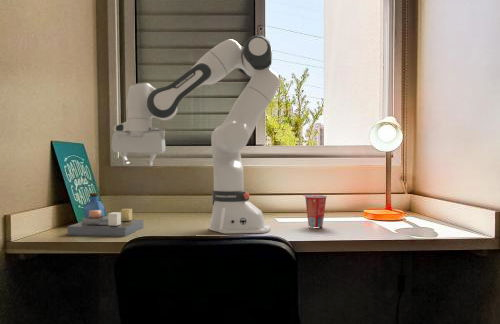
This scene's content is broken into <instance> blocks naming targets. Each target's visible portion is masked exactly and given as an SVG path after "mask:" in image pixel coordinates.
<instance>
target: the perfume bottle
mask: <svg viewBox="0 0 500 324" xmlns="http://www.w3.org/2000/svg"><path fill="white" fill-rule="evenodd" d="M88 199H89V201H87V202H86V203H85V205H84V206H83V208H82V211H83V210H84V215H85V218H86V217H89V211H92V210H101V216H106V212H105V206H104V204H103V202H102V201H101V200H99V193H98V192H91V193H90V192H89V196H88Z"/></svg>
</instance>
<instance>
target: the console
mask: <svg viewBox="0 0 500 324" xmlns="http://www.w3.org/2000/svg"><path fill="white" fill-rule="evenodd" d="M141 228H142V229H143V228H144V219H135V218H134V219H133V218H132V220H130V221H121V224H120V225H117V226H112V225H108V215H105V216H101V218H99V219H89V217H86V218H83V217H82V218H81V222H78V223H74V224H70V225H68V226H67V236H79V237H80V236H81V237H82V236H84V237H85V236H86V237H89V236H90V237H122V236H125V237H127V236H130V235H131V234H134V233H135V231H136V232H137V230H138V231H140V230H142V229H141ZM139 229H140V230H139ZM133 232H134V233H133Z"/></svg>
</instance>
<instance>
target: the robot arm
mask: <svg viewBox="0 0 500 324" xmlns="http://www.w3.org/2000/svg"><path fill="white" fill-rule="evenodd" d="M272 60H273V48H272V45H271V43H270V41H269V39H267V38H266V37H265V36H263V35H259V34H258V35H253V36H251V37H248V39H246V41H245V43H244V45H243V46H242V45H240V43H238V41H236V40H234V39H230V38H229V39H226V40H224V41H222V42H220V43H218V44H217V45H215V46H214V47H213V48H211V49H210V50H208V51H207V52H206V53H204V54H203V56H201V57H200V58H199V59H198V60H197V61H196V62H195V64H194V65H193V66H192V67H191V68H190V69H189V70H187V71H186V72H185V73H184V74H183V75H182V76H179V78H177V79H176V80H175V81H173V82H172V83H170V84H169V85H167V86H163V87H158V88H156V87H154V86H153V85H151V84H150V83H148V82H138V83H134V84H132V85H131V86H129V88H128V92H127V99H126V100H127V103H126V108H127V116H126V121H124V122H122V123H119V124H115V125H114V126H113V131H114V133H113V134H112V136H111V137H112V138H111V139H112V140H111V150H112V151H113V152H112V153H120V156H121V159H122V161H123V162H122V164H123V166H130V162H131V160H129V159H128V157H127V156H128V153H134V154H136V153H138V154H139V153H140V154H141V153H142V154H145V153H146V154H149V156H150V158H149V159H148V160H147V161H146V166H149V167H152V166H153V165H154V160H155V158H156V157H157V154H164V153H165V152H166V139H165V138H166V131H165V129H163V128H162V127H152V126H153V124H152V123H153V122H152V121H153V119H158V120H161V121H168V120H172V119H173V118H174V117H176V115H177V113H178V107H179V106H178V105H179V104H180V102H181V101H182V100H183V99H184V98H185V97H187V96H188V95H189V94H191V93H192V92H193V91H195V90H196V89H197V88H199V87H201V86H204V85H211V86H212V85H214V84H216V83H218V82H219V81H221V80H223V79H224V78H225V77H226V76H228V74H230V73H231V72H232V71H234V70H235V69H237V71H238V72H240V73H241V74H243V75H245V77H247V78H248V79H250V80H249V81H248V83H247V84H246V86H245V87H244V88H243V90H242V91H241V93H240V95H239V96H238V97H237V99H236V100H235V102H234V104H233V105H232V107H231V109H230V110H229V113H227V114H228V115H227V116H226V117H225V119H224V121H223V123H222V124H220V125H219V126H217V127H216V128H215V129H214V130H213V131H212V133H211V135H210V137H211V139H210V141H211V154H212V155H211V156H212V164H213V166H212V167H213V190H212V193H211V203H212V204H211V205H212V212H211V219H210V225H209V227H208V228H209V230H210V231H213V232H218V233H221V234H258V233H259V234H264V233H268V232H269V231H271V225H269V224H268V223H265V217H264V214H263V212H262V210H261V209H260V208H258V207H257V206H256V205H255V204H253V203H252V202H250V201H249V199H250V192H247V191H245V190H244V187H245V186H244V180H245V179H244V178H245V177H244V175H245V174H244V167H243V161H242V156H241V155H242V154H241V151H242V150H243V149H244V148H245V147H246V146H247V144H248V143H249V140H250V138H251V137H252V135H253V132H254V131H255V128H256V126H257V125H258V122H259V120H260V119H261V117H262V116H263V114H264V113H265V111H266V110H267V108H268V107H269V105H270V104H271V102H272V100H273V98H275V97H274V96H275V95H276V93H277V91H278V89H279V86H280V78H279V76H278V75H277V73H276V72H275V71H273V70H272V69H271V68H270V66H271V65H272V62H273V61H272Z"/></svg>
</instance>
